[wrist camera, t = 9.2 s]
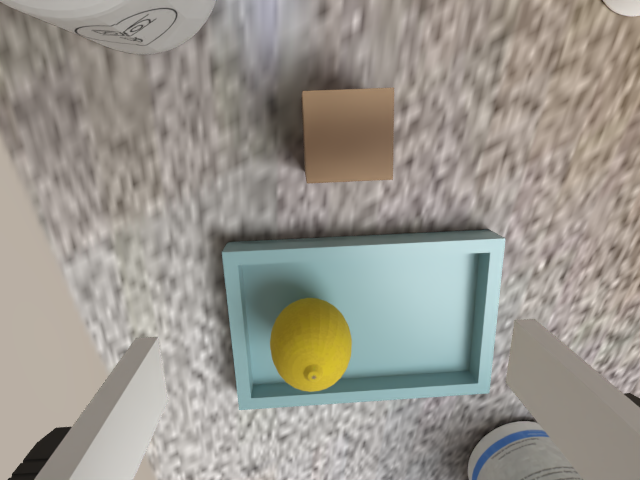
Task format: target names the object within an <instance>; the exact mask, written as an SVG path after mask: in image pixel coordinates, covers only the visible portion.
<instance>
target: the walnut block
mask: <svg viewBox="0 0 640 480" xmlns="http://www.w3.org/2000/svg"><path fill="white" fill-rule="evenodd" d="M302 119H303V140H304V161H305V175H306V181H307V183H326V182H349V181H371V180H393V127H394V88H373V89H344V90H316V91H302Z"/></svg>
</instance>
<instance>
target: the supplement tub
mask: <svg viewBox="0 0 640 480" xmlns="http://www.w3.org/2000/svg"><path fill="white" fill-rule="evenodd" d="M468 478H469V480H583V479H582V477H581V476H580V475H579V474H578V472H577V471H576V470H575V469H574V467H573V466H572V465H571V464H570V462H569V461H568V460H567V459H566V457H565V456H564V455H563V454H562V452H561V451H560V450H559V449H558V447H557V446H556V445H555V444H554V442H553V441H552V440H551V438H550V437H549V436H548V435H547V433H546V432H545V431H544V430H543V428H542V427H541V426H540V425H539V423H536V422H530V421H518V422H512V423H508V424H505V425H503V426H500V427H498V428H496V429H494V430H493V431H491V432H490V433H488V434H487V435H486V436H485V437H483V438H482V439H481V440H480V442H479V443H478V444H477V445H476V447H475V448H474V450H473V452H472V454H471V456H470V459H469V463H468Z"/></svg>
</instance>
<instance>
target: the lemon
mask: <svg viewBox="0 0 640 480" xmlns="http://www.w3.org/2000/svg"><path fill="white" fill-rule="evenodd" d="M351 349H352V338H351V334H350V329H349V326H348V324H347V322H346V320H345V318H344V316H343V315H342V313H341V312H340V311H339V310H338V309H337V308H336V307H335V306H334V305H332V304H330V303H328V302H327V301H324V300H321V299H318V298H304V299H299V300H297V301H295V302H293V303H291V304H289V305H288V306H287V307H286V308H284V309H283V310H282V312H281V313H280V314H279V316H278V317H277V318H276V321H275V323H274V325H273V328H272V331H271V338H270V350H271V356H272V360H273V363H274V365H275V367H276V369H277V371H278V373H279V375H280V376H281V377H282V378H283V379H284V381H285V382H286V383H288V384H289V385H291V386H292V387H294V388H296V389H299V390H302V391H308V392H313V391H320V390H324V389H327V388H328V387H330V386H332V385H334V384H335V383H336V382H337V381H338V380H339V379H340V378H341V377H342V376H343V374H344V372H345V371H346V369H347V367H348V364H349V361H350V358H351Z"/></svg>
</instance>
